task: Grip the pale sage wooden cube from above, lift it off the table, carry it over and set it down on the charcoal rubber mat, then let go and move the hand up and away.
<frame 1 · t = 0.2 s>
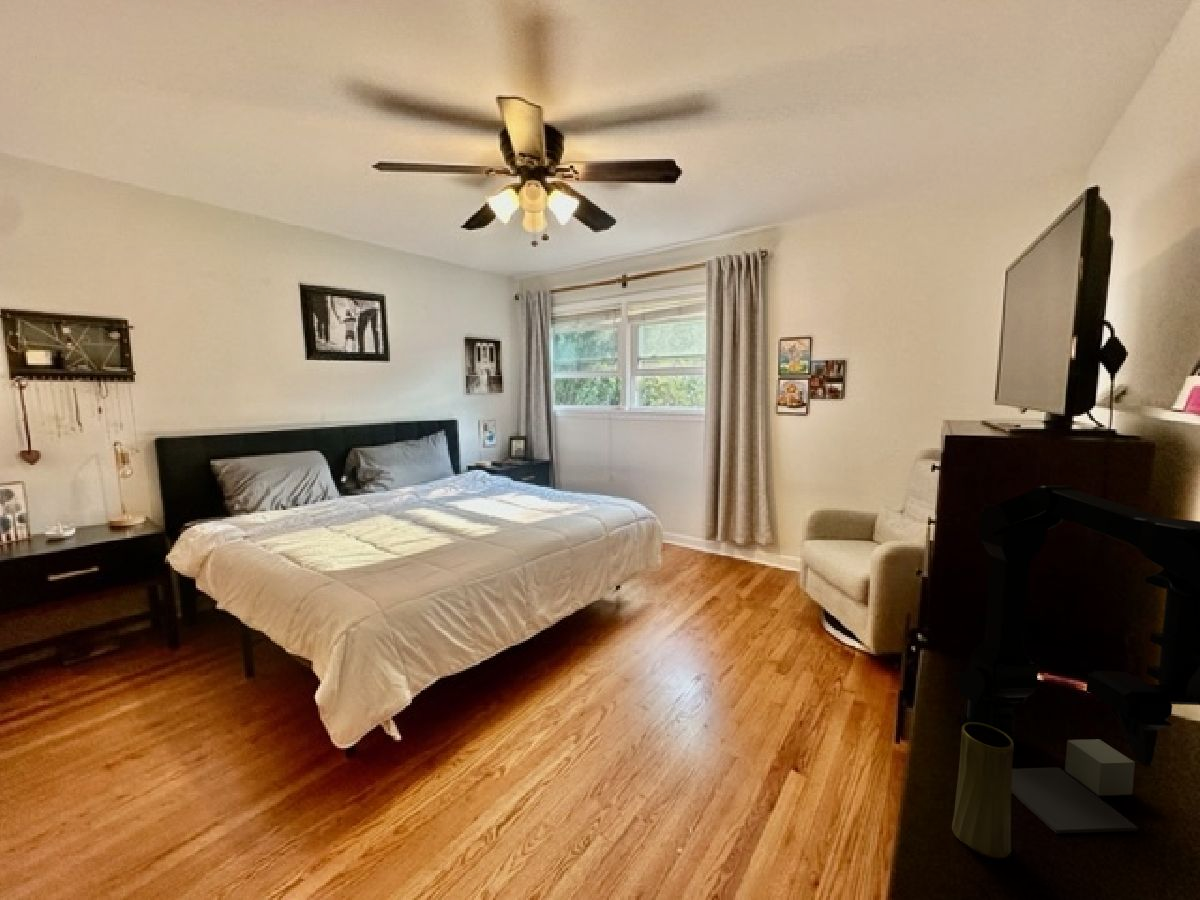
hand: (1185, 765, 58), 14 cm above the dresser, tool pointing down, fingers open, 9 cm apart
mat: (1057, 799, 71), on the dresser
cube: (1097, 782, 74), on the dresser
vase: (980, 840, 65), on the dresser
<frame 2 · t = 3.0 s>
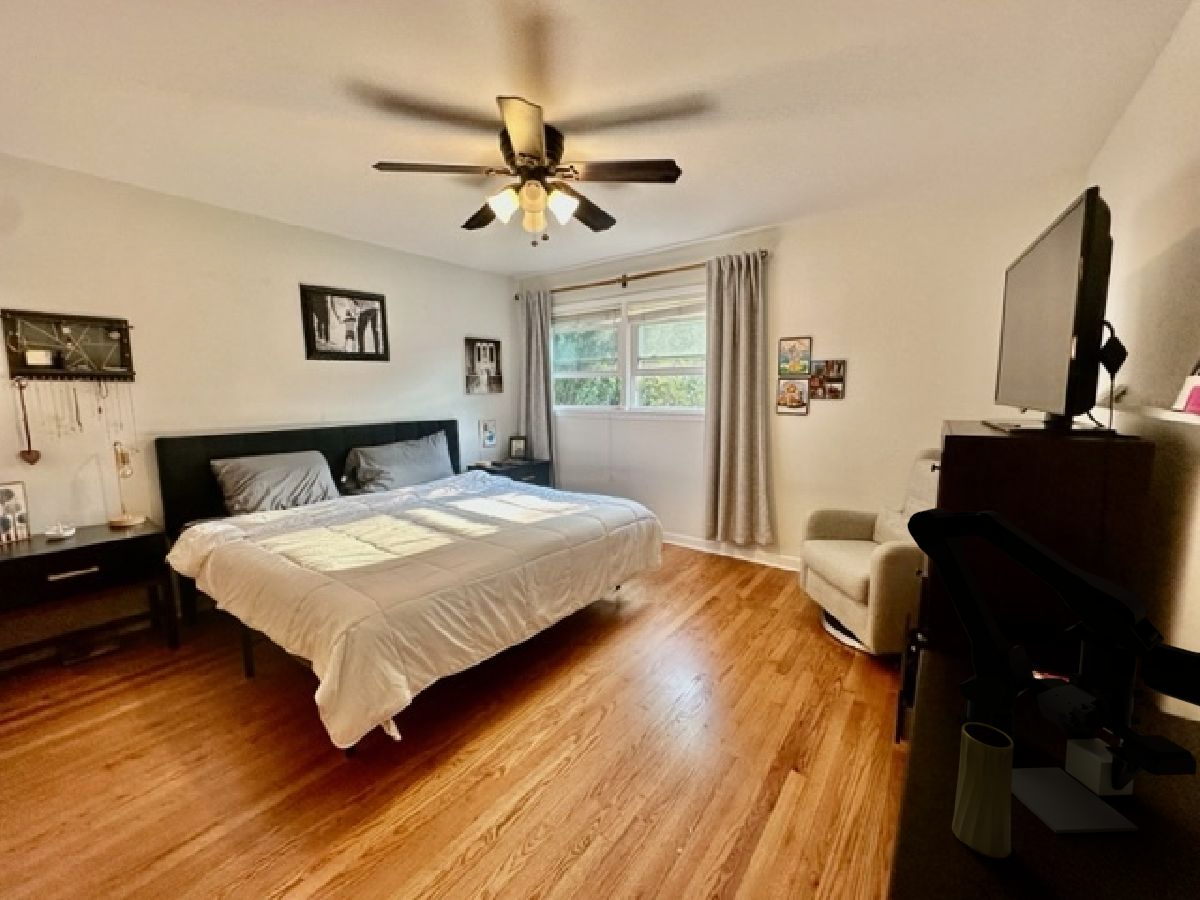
hand: (1097, 775, 74), 1 cm above the dresser, tool pointing down, fingers closed on cube, 5 cm apart
cube: (1097, 782, 74), on the dresser, touching gripper
everything else where it was.
when the fingers open (2 cm above the dresser, at t = 7.5 s): cube stays where it is, resting on mat.
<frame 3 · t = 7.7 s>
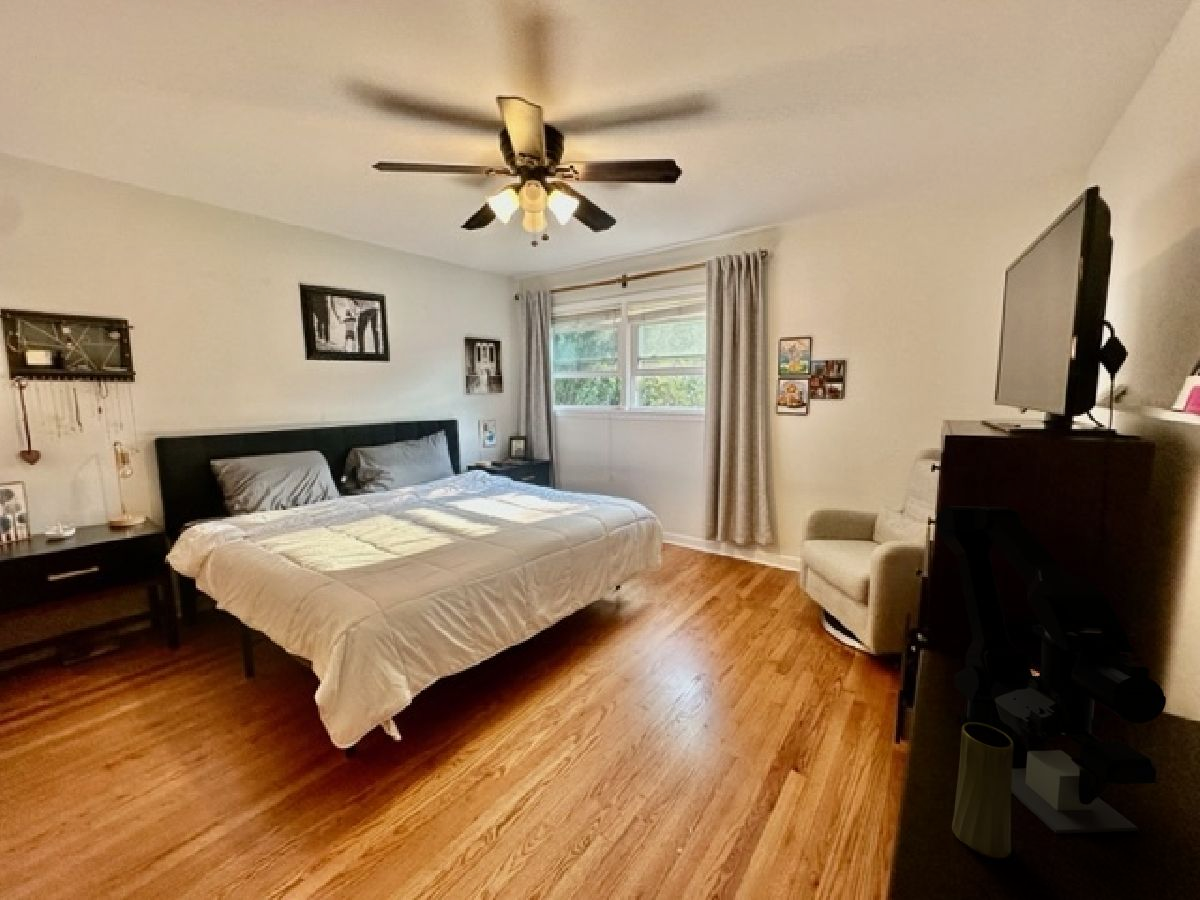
hand: (1058, 782, 71), 2 cm above the dresser, tool pointing down, fingers open, 7 cm apart
cube: (1057, 795, 71), resting on mat
everything else where it was.
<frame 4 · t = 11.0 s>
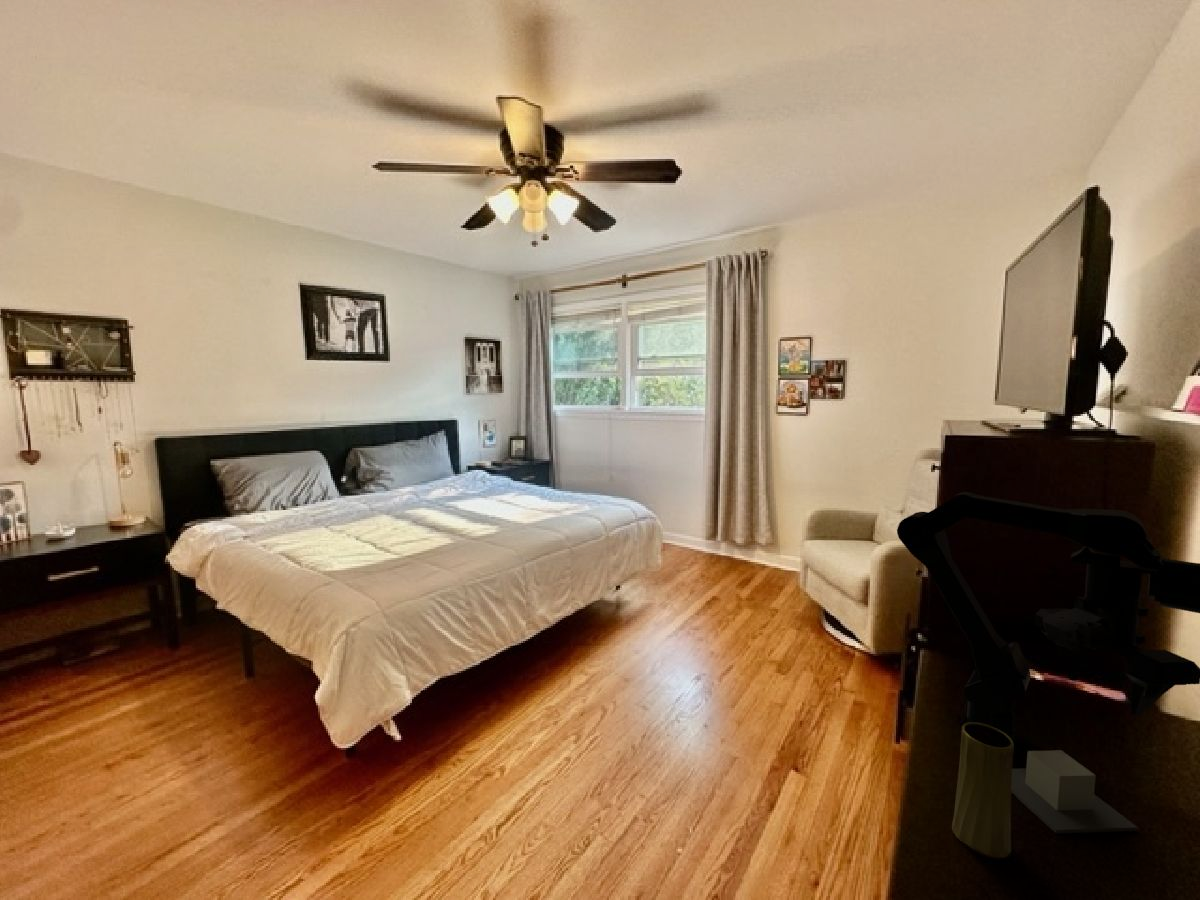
hand: (1102, 696, 75), 12 cm above the dresser, tool pointing down, fingers open, 9 cm apart
nothing on the dresser moved.
at the end: cube inside the target area on the mat (0.1 cm from its centre), point 0.5 cm above the mat's base; cube tilted 0°; the gripper is holding nothing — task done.
